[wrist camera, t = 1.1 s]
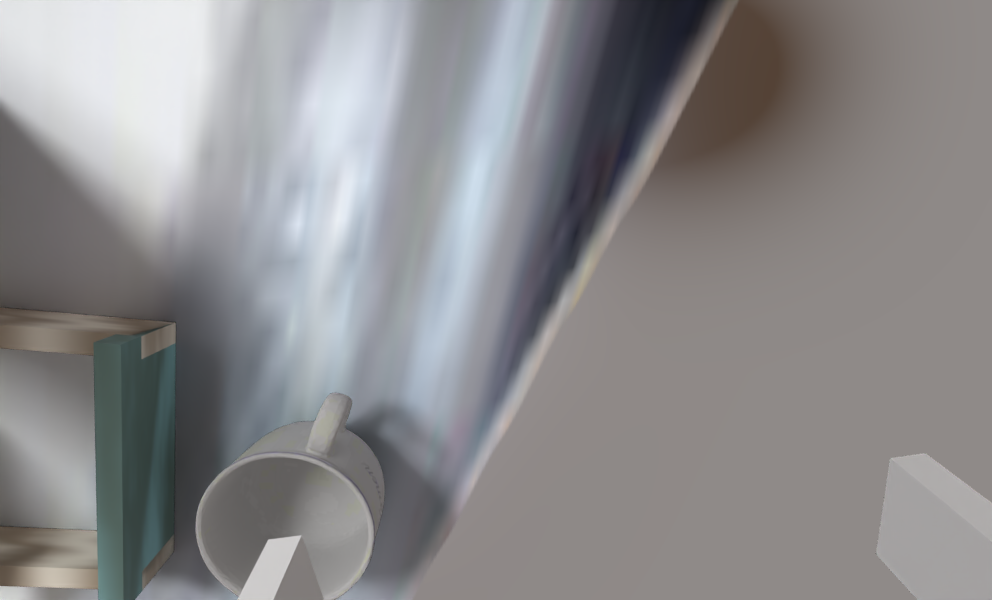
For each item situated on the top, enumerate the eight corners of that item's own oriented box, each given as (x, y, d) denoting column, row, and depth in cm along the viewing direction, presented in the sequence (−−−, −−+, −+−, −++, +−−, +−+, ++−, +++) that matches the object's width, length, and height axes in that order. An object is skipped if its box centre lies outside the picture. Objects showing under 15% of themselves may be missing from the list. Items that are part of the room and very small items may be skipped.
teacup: (345, 556, 40) (319, 642, 32) (218, 494, 38) (157, 568, 30) (438, 413, 38) (434, 465, 30) (310, 341, 36) (271, 377, 29)
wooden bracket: (-81, 541, 36) (-183, 604, 31) (-101, 298, 34) (-219, 317, 28) (174, 551, 38) (123, 613, 32) (175, 322, 35) (120, 344, 30)
